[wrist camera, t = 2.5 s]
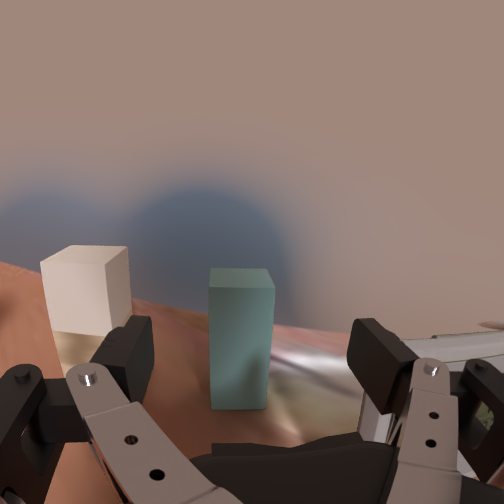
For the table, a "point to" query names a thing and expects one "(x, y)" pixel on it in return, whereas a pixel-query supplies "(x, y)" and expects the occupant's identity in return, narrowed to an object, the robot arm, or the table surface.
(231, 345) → the teal post
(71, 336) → the maple cube
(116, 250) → the cream cube
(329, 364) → the table surface
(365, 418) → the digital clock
